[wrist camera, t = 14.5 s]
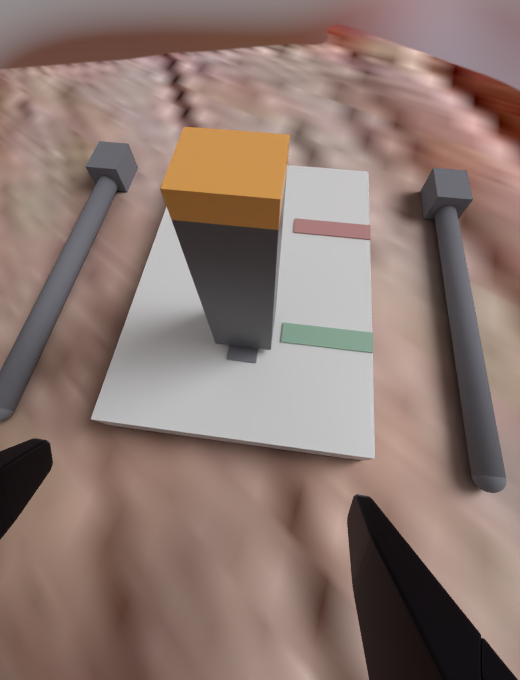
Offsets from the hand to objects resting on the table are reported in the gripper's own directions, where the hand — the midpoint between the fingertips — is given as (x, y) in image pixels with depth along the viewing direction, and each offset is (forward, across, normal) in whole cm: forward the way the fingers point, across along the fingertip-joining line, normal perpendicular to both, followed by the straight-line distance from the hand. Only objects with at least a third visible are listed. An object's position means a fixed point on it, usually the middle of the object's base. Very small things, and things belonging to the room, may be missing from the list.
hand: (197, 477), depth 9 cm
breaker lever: (+9, 0, -2) cm, 9 cm away
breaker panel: (+14, 0, -3) cm, 14 cm away
